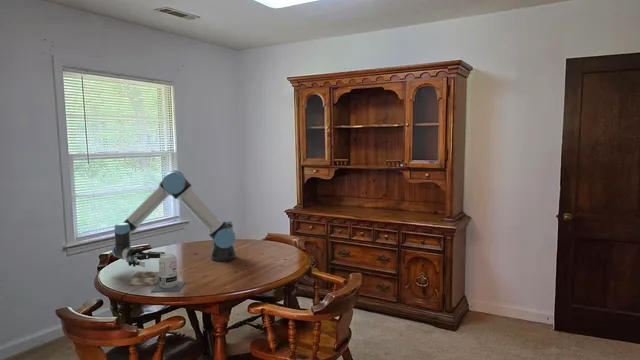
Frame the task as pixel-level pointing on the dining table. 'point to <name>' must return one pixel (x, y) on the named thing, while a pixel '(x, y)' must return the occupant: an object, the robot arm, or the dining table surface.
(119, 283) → the dining table surface
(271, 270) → the dining table surface
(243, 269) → the dining table surface
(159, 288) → the slate mat
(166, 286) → the supplement can
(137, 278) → the holder collar
